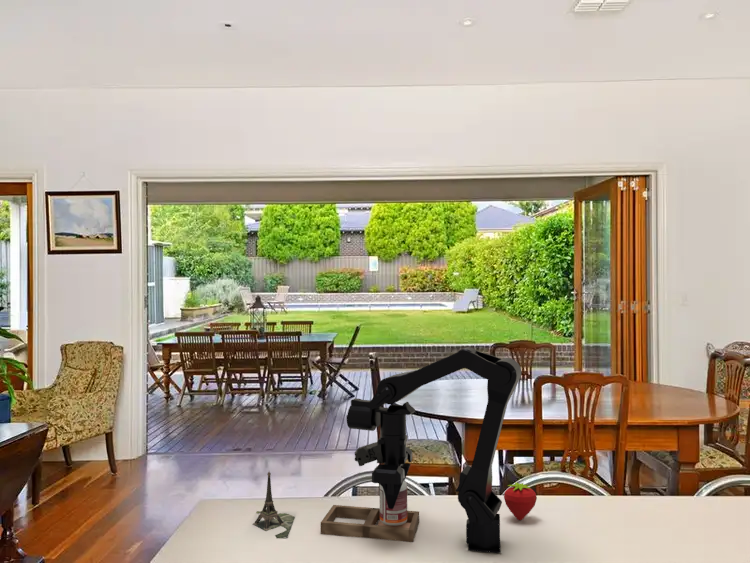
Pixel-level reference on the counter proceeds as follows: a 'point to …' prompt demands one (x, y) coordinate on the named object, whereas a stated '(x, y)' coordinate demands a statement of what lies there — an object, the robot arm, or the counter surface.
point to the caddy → (368, 524)
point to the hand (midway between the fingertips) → (393, 503)
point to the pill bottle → (400, 509)
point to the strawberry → (520, 500)
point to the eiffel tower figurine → (273, 516)
